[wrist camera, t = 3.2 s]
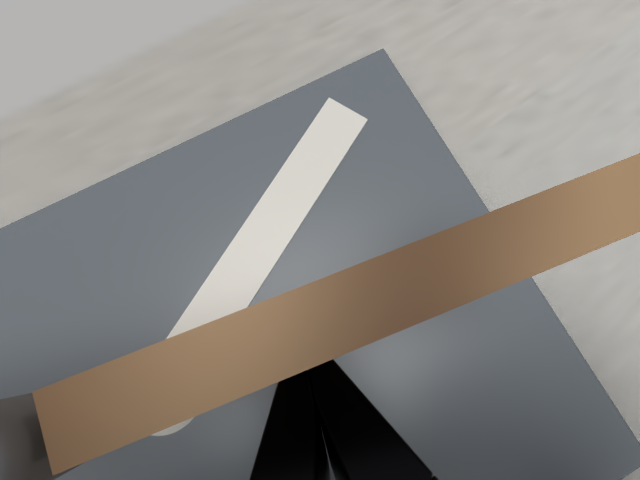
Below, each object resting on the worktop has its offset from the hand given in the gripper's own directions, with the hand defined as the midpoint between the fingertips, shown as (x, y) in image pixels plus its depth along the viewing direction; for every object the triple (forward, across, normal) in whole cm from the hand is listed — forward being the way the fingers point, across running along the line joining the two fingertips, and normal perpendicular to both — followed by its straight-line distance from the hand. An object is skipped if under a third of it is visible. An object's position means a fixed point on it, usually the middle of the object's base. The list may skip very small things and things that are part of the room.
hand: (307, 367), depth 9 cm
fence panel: (+5, -1, +4) cm, 6 cm away
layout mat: (+5, +3, +5) cm, 8 cm away
